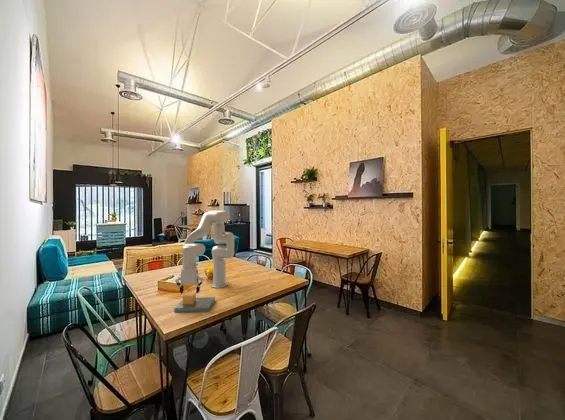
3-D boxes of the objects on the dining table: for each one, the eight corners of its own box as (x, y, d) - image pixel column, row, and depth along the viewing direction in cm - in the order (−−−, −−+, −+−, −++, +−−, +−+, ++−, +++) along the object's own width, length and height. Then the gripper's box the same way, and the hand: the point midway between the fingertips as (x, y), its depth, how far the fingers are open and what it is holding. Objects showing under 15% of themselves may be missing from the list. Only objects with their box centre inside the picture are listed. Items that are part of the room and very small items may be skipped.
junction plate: (184, 301, 157) (184, 291, 156) (215, 301, 158) (215, 291, 157) (174, 312, 141) (174, 301, 140) (208, 311, 142) (208, 300, 141)
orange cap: (186, 300, 152) (186, 292, 152) (195, 300, 152) (195, 292, 152) (182, 304, 146) (182, 296, 146) (192, 304, 146) (192, 296, 146)
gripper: (205, 263, 153) (205, 290, 154) (177, 264, 152) (178, 290, 153) (201, 267, 145) (202, 294, 146) (172, 267, 145) (173, 295, 145)
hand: (189, 292), depth 149 cm, fingers open, 9 cm apart
